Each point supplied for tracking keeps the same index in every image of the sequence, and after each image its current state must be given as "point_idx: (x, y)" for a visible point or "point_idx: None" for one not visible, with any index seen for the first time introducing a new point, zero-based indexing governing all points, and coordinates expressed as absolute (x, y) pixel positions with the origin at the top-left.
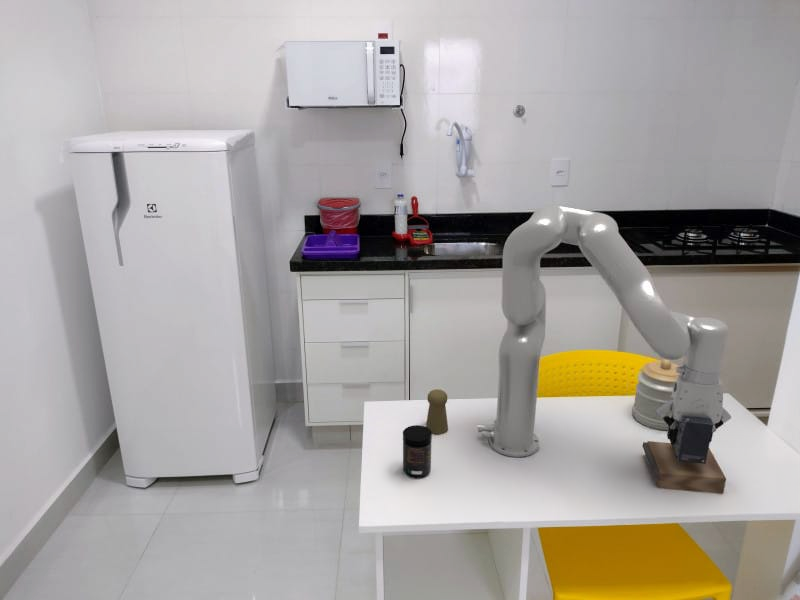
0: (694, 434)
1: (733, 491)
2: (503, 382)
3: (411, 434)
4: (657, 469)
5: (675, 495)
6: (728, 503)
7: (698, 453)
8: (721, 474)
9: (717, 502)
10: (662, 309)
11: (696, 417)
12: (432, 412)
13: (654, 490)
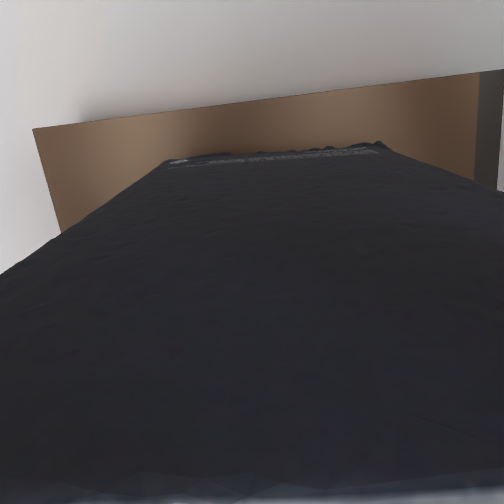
0: (357, 225)
1: (26, 161)
2: None
3: None
4: (472, 137)
5: (340, 30)
6: (56, 33)
7: (227, 166)
8: (61, 172)
9: (115, 25)
10: None
11: None
12: None
13: (451, 49)
